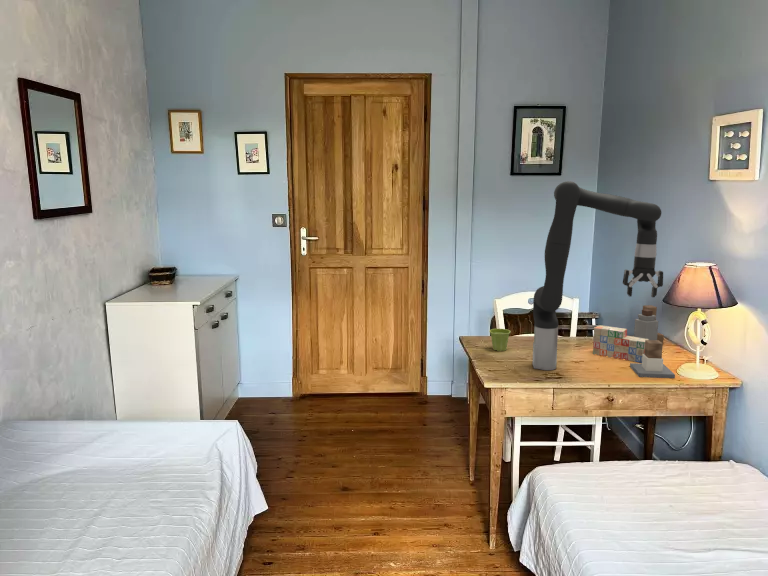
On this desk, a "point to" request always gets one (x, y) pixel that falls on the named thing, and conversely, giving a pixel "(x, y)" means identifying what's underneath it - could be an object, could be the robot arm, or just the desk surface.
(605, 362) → the desk surface
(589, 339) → the desk surface
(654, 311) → the wooden block
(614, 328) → the stack of blocks
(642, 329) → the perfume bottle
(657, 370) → the base plate
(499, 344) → the plant pot
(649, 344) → the walnut block
